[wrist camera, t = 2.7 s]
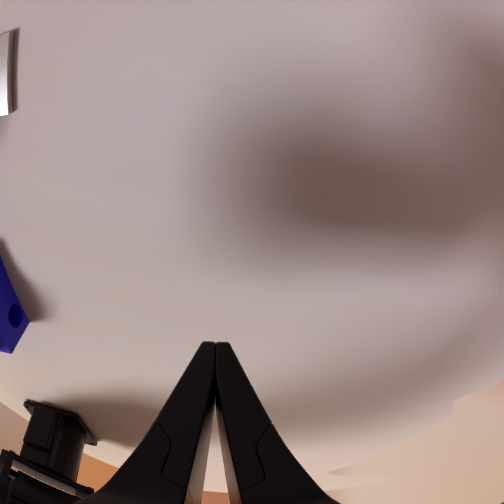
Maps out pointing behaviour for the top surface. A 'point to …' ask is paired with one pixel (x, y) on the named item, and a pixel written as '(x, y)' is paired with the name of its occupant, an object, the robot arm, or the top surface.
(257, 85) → the top surface
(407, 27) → the top surface
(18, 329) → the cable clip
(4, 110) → the steel strip
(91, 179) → the top surface
